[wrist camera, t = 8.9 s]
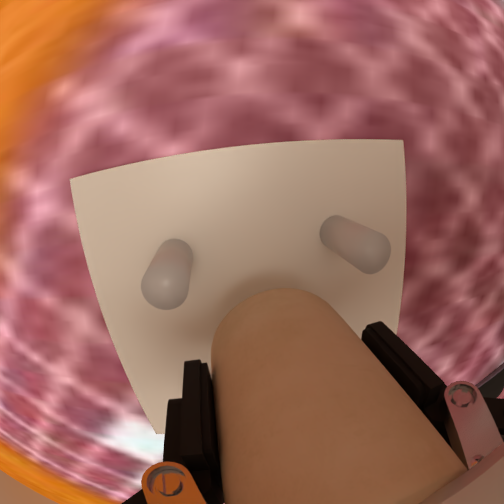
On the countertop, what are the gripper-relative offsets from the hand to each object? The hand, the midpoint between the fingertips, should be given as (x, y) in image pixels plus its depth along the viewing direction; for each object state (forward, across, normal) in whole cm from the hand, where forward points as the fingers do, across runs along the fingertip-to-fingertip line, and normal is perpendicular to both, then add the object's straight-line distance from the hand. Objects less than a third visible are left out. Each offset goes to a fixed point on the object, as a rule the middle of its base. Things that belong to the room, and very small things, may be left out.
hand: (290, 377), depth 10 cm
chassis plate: (+6, 0, 0) cm, 6 cm away
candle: (+2, 0, 0) cm, 2 cm away
